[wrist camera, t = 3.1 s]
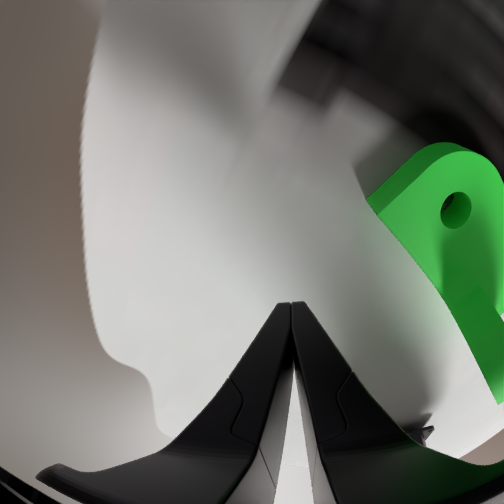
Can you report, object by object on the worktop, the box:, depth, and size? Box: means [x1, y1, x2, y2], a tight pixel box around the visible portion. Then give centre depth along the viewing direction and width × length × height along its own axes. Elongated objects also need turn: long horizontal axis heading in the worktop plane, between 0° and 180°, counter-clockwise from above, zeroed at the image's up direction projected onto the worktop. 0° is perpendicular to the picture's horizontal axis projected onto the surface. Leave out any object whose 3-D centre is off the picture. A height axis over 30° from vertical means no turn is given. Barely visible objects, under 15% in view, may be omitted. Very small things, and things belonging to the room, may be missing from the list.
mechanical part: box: [366, 142, 504, 405], centre depth 10 cm, size 12×6×8 cm, turn 49°
